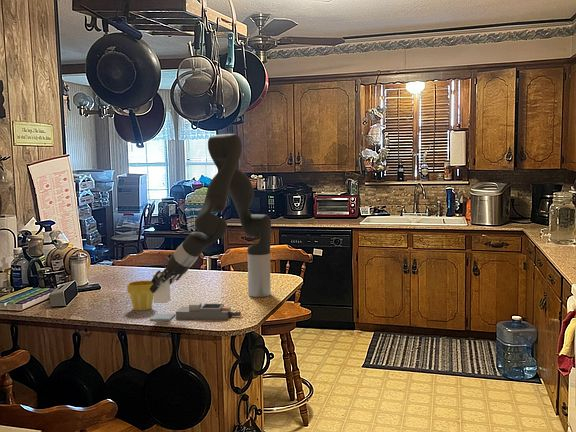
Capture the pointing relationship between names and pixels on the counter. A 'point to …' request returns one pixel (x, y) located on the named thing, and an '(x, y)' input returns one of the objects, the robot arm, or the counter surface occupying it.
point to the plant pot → (140, 294)
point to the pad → (162, 317)
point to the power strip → (205, 311)
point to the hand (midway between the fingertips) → (157, 289)
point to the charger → (162, 292)
